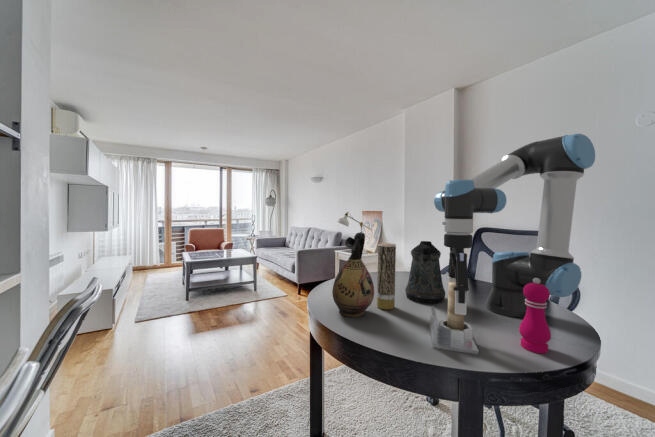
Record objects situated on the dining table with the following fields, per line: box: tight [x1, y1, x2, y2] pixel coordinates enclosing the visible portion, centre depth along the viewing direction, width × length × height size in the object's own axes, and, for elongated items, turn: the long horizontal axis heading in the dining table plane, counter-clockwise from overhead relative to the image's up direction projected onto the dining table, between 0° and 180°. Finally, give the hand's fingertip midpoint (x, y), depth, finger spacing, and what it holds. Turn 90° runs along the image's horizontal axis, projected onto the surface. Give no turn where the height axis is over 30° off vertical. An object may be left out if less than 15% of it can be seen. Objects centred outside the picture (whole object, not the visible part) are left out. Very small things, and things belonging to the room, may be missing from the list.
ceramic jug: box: [331, 231, 375, 318], centre depth 105 cm, size 17×15×30 cm
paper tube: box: [376, 242, 397, 311], centre depth 110 cm, size 7×7×25 cm
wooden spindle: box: [446, 281, 465, 330], centre depth 82 cm, size 4×4×16 cm
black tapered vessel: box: [404, 240, 446, 305], centre depth 121 cm, size 16×19×25 cm
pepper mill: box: [518, 278, 552, 354], centre depth 79 cm, size 7×7×20 cm
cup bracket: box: [429, 305, 480, 355], centre depth 83 cm, size 12×12×8 cm
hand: (456, 305), depth 82 cm, fingers open, 13 cm apart
